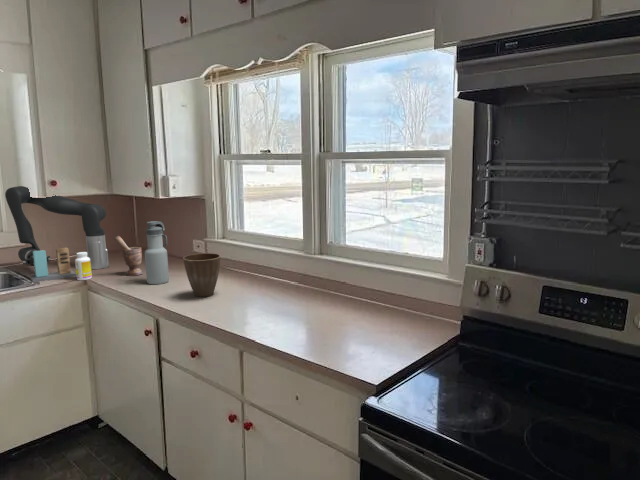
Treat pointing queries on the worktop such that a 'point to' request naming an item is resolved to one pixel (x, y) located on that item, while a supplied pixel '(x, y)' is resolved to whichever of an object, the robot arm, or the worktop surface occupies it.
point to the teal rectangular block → (40, 263)
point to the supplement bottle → (83, 266)
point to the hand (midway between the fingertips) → (39, 262)
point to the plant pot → (202, 272)
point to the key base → (53, 276)
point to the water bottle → (156, 254)
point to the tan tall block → (63, 260)
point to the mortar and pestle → (131, 257)
